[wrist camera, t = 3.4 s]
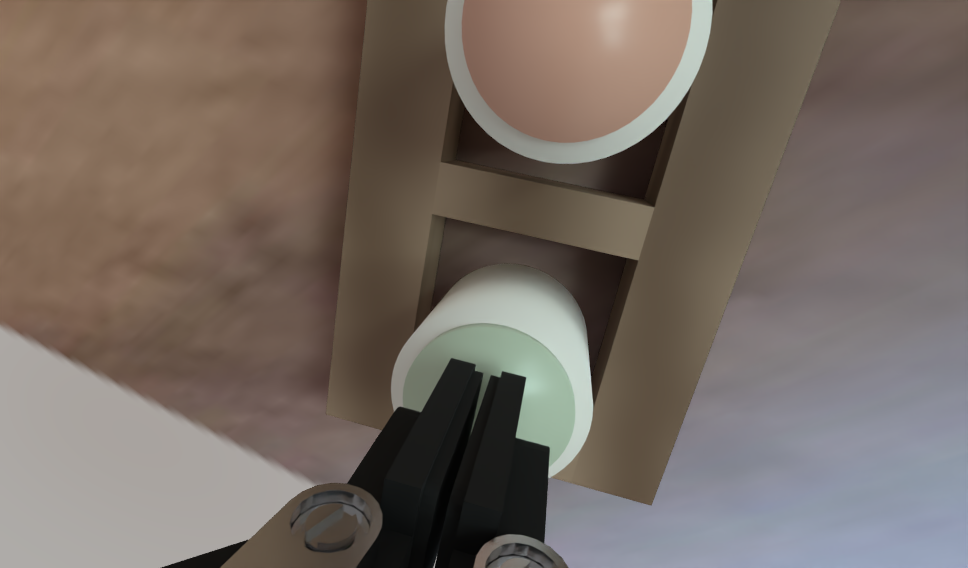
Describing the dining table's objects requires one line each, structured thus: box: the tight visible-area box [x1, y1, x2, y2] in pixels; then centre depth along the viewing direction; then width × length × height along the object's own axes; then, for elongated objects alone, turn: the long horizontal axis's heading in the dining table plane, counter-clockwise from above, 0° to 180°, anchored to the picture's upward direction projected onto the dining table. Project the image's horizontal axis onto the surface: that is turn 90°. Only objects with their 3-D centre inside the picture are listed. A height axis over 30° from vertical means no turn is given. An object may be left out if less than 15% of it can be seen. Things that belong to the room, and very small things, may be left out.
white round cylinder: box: [391, 263, 593, 478], centre depth 13 cm, size 5×5×4 cm
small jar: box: [445, 0, 712, 164], centre depth 10 cm, size 5×5×4 cm
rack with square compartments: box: [326, 0, 841, 505], centre depth 14 cm, size 12×26×2 cm, turn 169°
